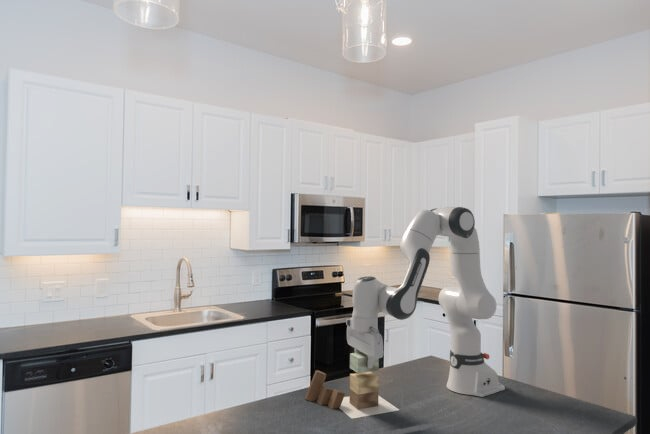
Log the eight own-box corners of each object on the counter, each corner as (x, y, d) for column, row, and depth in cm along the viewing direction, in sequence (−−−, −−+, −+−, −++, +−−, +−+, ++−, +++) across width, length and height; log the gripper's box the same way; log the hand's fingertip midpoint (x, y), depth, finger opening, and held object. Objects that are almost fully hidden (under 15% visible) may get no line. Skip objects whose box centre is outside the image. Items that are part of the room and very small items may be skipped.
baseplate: (374, 395, 165) (374, 392, 165) (399, 413, 149) (399, 410, 149) (329, 402, 158) (329, 399, 158) (351, 422, 142) (351, 418, 142)
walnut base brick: (369, 399, 158) (369, 385, 158) (378, 406, 152) (378, 391, 153) (349, 403, 155) (349, 388, 155) (357, 409, 149) (357, 394, 149)
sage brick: (369, 365, 158) (370, 351, 158) (378, 370, 153) (378, 355, 153) (349, 368, 155) (350, 353, 155) (357, 373, 149) (358, 358, 150)
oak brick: (369, 385, 158) (370, 371, 158) (378, 391, 153) (378, 376, 153) (349, 388, 155) (349, 373, 155) (358, 394, 149) (358, 379, 149)
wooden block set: (340, 417, 151) (352, 388, 153) (320, 412, 147) (332, 381, 149) (315, 397, 167) (325, 370, 169) (296, 391, 163) (307, 364, 165)
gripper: (388, 330, 146) (387, 372, 146) (359, 318, 165) (358, 355, 164) (371, 331, 143) (371, 374, 143) (343, 319, 162) (343, 357, 162)
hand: (364, 364), depth 154 cm, fingers closed on sage brick, 6 cm apart
